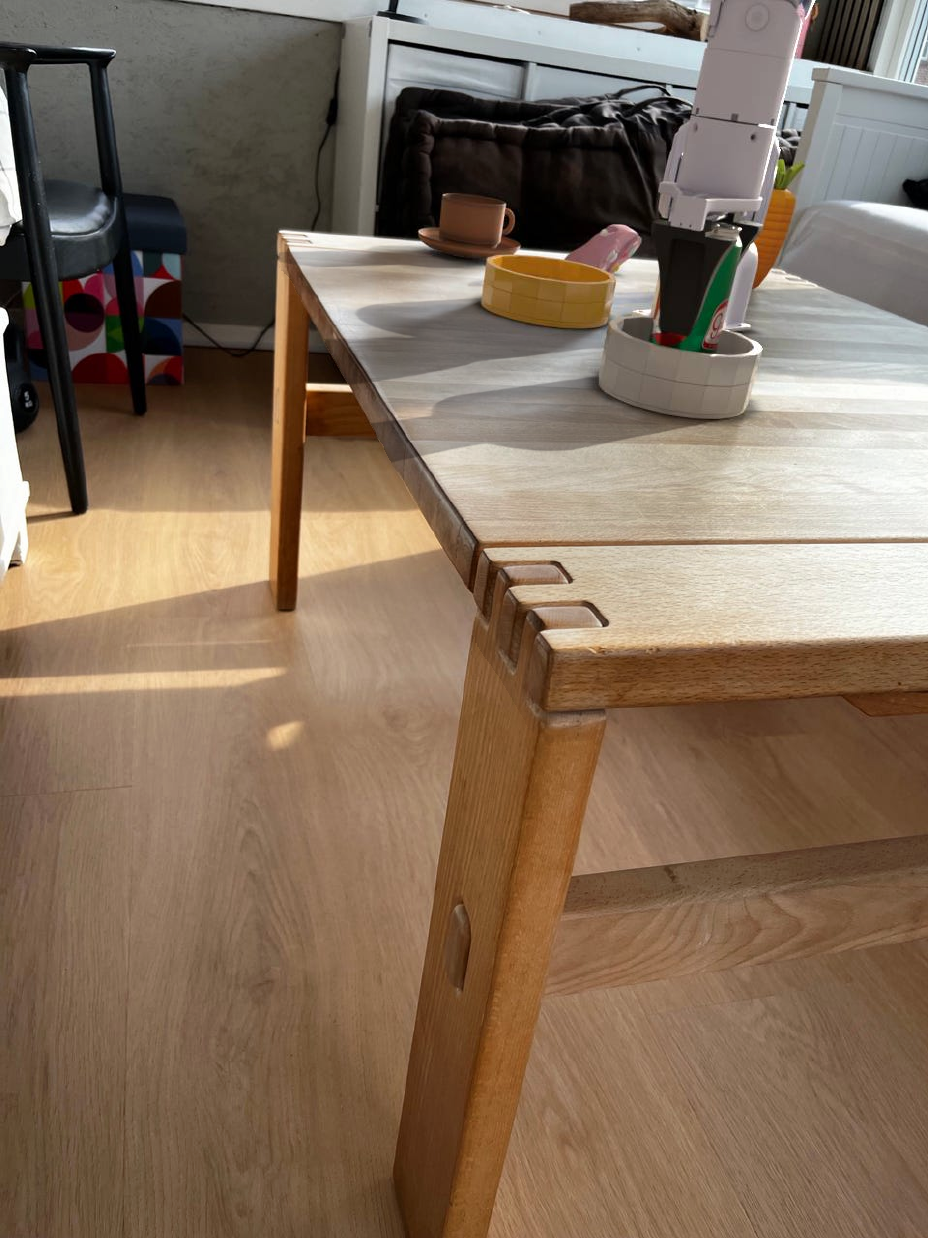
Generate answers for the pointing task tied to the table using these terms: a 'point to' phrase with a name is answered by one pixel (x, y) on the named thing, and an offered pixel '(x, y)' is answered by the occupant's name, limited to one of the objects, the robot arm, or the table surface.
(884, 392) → the table surface
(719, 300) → the soda can
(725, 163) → the robot arm
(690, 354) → the pot
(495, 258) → the bowl
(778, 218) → the carrot
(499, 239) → the cup and saucer
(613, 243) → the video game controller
